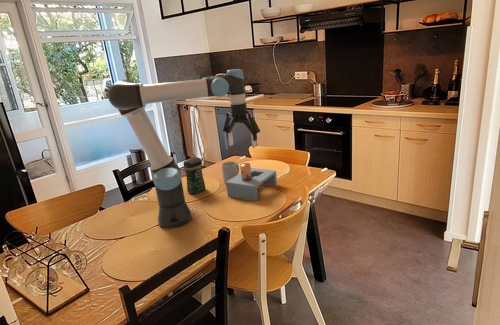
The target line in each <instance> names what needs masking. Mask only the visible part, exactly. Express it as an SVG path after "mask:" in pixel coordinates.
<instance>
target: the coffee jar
mask: <svg viewBox="0 0 500 325" xmlns="http://www.w3.org/2000/svg"><path fill="white" fill-rule="evenodd" d="M202 168H203V162H202V159H201V158H200V157H197V156H195V157H193V158H190V159H186V160H184V161H183V169H184V171H185V175H186V189H187V192H188V193H189V194H194V195H195V194H199V193H201V192H203V191H205V190H206V184H205V179H204V175H203V171H202V170H203V169H202Z"/></svg>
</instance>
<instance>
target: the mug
mask: <svg viewBox="0 0 500 325" xmlns="http://www.w3.org/2000/svg"><path fill="white" fill-rule="evenodd" d="M221 170H222V177H223V178H222V179H223V184H224V185H226V182H227V181H228V180H230V179H232V178H233V177H235V176H237V175H238V174H240V164H239V163H237V162H236V161H230V160H229V161H225V162H223V163H221Z"/></svg>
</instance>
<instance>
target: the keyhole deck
mask: <svg viewBox="0 0 500 325" xmlns="http://www.w3.org/2000/svg"><path fill="white" fill-rule="evenodd" d="M251 176H252V180H250V181H242V178H241V172H239V173H238V175H237V176H235V177H233V178H232V179H230V180H228V181H227V182H226V184H225V185H226V191H227V197H229V196H231V197H230V198H234V197H236V199H240V198H241V199H242V200H245V199H246V201H250V202H251V201H252V202H257V201H258V200H259V198H258V197H259V195H258V188H257V187H259V186H260V185H267V186H273V187H276V186H278V178H277V170H272V169H263V168H255V167H251Z"/></svg>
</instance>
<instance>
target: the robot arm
mask: <svg viewBox="0 0 500 325" xmlns="http://www.w3.org/2000/svg"><path fill="white" fill-rule="evenodd" d="M245 88H246V87H245V78H244V72H243V70H242V69H241V68H233V69H227V70H226V74H224V75H211V76H209V75H208V76H206V77H205V76H203V77H202V78H201V79H190V80H179V81H171V82H161V83H160V82H158V83H150V84H143V83H142V82H136V83H135V82H134V81H132V80H129V79H121V80H117V81H116V82H114V83H112V84H111V85H110V87H109V88H108V91H107V99H108V101H109V103H110V104H111V106H112V107H114V108H115V109H117V110H118V112H119V114H120V115H121V117H124V118H126V119H127V120H128V123H129V125H130V126H131V129H132V131H133V132H134V134H135V136H136V137H137V140H138V141H139V144H140V146H141V147H142V149H143V150H144V153H145V155H146V156H147V159H148V160H149V163H150V164H151V165H150V167H149V169H150V172H151V173H152V175H153V176H152V177H153V181H152V182H153V184H154V187H155V193H156V194H155V195H156V198H157V202H158V207H159V208H158V216H157V222H158V223H157V224H158V225H159V227H161V226H162V227H161V228H164V227H174V228H177V227H176V226H179V227H182V226H184V225H186V224H188V223H189V222H190V221H191V220H192V218H193V215H192V211H191V210H190V208H189V206H188V204H187V202H186V198H185V193H184V186H183V182H182V171H181V168H180V167H179V166H178V165H177V163H176V161H175V159H174V158H173V157H172V156H169V155H168V152H167V151H166V149H165V147H164V145H163V143H162V141H161V139H160V136H159V134H158V133H157V130H156V129H155V127H154V125H153V123H152V121H151V120H150V117H149V115H148V113H147V111H146V106H147V105H148V104H158V103H165V102H166V103H167V102H174V101H183V100H193V99H199V98H209V97H210V98H211V97H219V98H220V97H224V96H226V95H227V94H228V96H229V103H230V111H231V112H227V113H226V118H225V122H224V125H223V128H222V131H223V132H225V133H226V138H227V140H228V145H229V146H228V147H231V146H234V135H233V131H232V130H233V128H234V127H235V125H236V124H239V123H240V124H244V125H245V127H246V128H247V129H248V131H250V133H251V134H250V137H251V138H250V139H251V147H252V148H253V149H255V148H256V147H257V140H258V134H259V133H260V132H261V129H260V127H259V126H258V124H257V121H256V120H255V117H254V114H253V112H250V113H248V112H247V102H246V101H247V99H246V89H245Z"/></svg>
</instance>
